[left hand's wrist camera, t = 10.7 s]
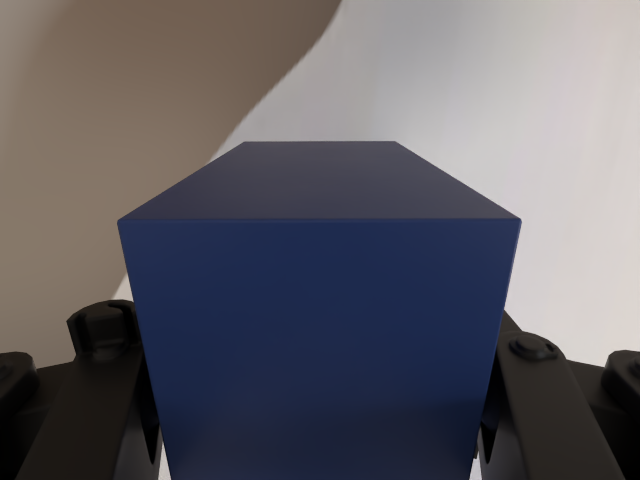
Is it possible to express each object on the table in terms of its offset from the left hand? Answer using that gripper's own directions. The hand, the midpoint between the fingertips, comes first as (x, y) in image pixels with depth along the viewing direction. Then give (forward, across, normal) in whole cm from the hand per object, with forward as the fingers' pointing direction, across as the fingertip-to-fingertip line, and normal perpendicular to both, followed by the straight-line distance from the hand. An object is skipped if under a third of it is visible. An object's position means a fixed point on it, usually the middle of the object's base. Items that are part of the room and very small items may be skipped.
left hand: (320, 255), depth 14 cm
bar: (+1, 0, -7) cm, 7 cm away
